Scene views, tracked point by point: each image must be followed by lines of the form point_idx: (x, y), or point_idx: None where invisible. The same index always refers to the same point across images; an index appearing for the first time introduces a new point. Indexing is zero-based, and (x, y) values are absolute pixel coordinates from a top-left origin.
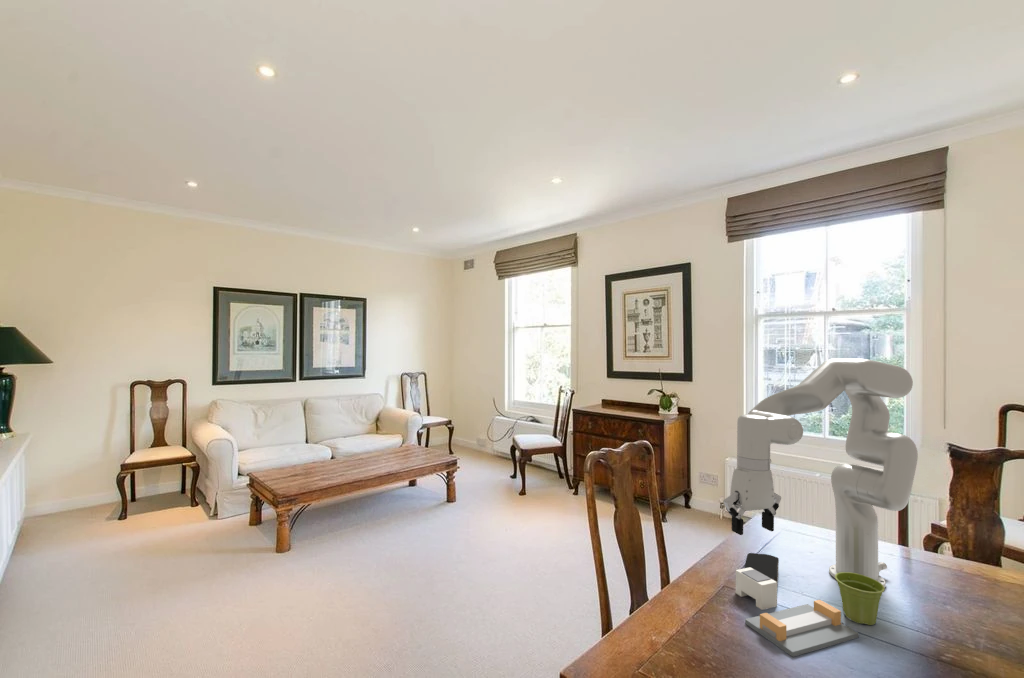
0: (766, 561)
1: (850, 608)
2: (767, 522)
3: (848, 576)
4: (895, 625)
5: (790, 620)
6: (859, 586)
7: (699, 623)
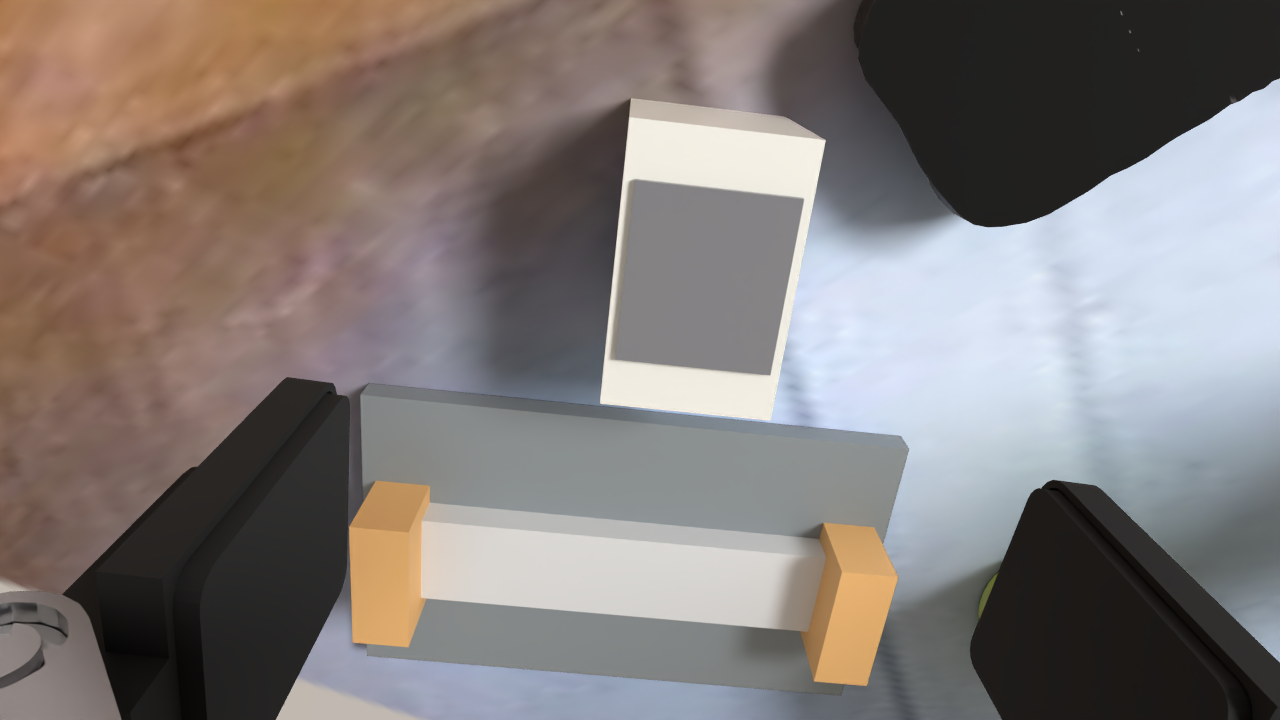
0: None
1: None
2: (1055, 686)
3: None
4: None
5: (566, 554)
6: None
7: (71, 261)
